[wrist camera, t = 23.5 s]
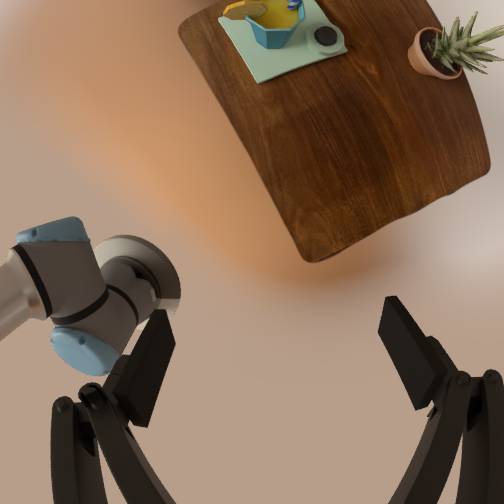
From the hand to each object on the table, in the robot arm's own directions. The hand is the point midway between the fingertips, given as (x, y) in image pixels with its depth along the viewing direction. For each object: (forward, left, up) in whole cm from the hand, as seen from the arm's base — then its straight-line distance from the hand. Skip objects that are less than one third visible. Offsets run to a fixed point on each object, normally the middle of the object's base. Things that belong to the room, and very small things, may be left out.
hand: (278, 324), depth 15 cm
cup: (+2, +28, -30) cm, 41 cm away
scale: (+3, +29, -31) cm, 43 cm away
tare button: (+9, +28, -28) cm, 41 cm away
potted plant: (+28, +28, -31) cm, 51 cm away
